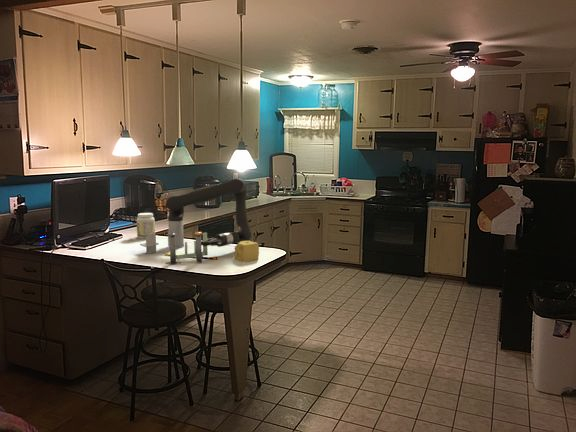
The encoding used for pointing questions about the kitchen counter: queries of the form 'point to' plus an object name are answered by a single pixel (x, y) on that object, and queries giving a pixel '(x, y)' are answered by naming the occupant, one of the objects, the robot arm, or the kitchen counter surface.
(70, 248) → the kitchen counter surface
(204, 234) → the gate
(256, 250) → the cheese
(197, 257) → the latch post
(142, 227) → the supplement tub
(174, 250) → the hinge post
